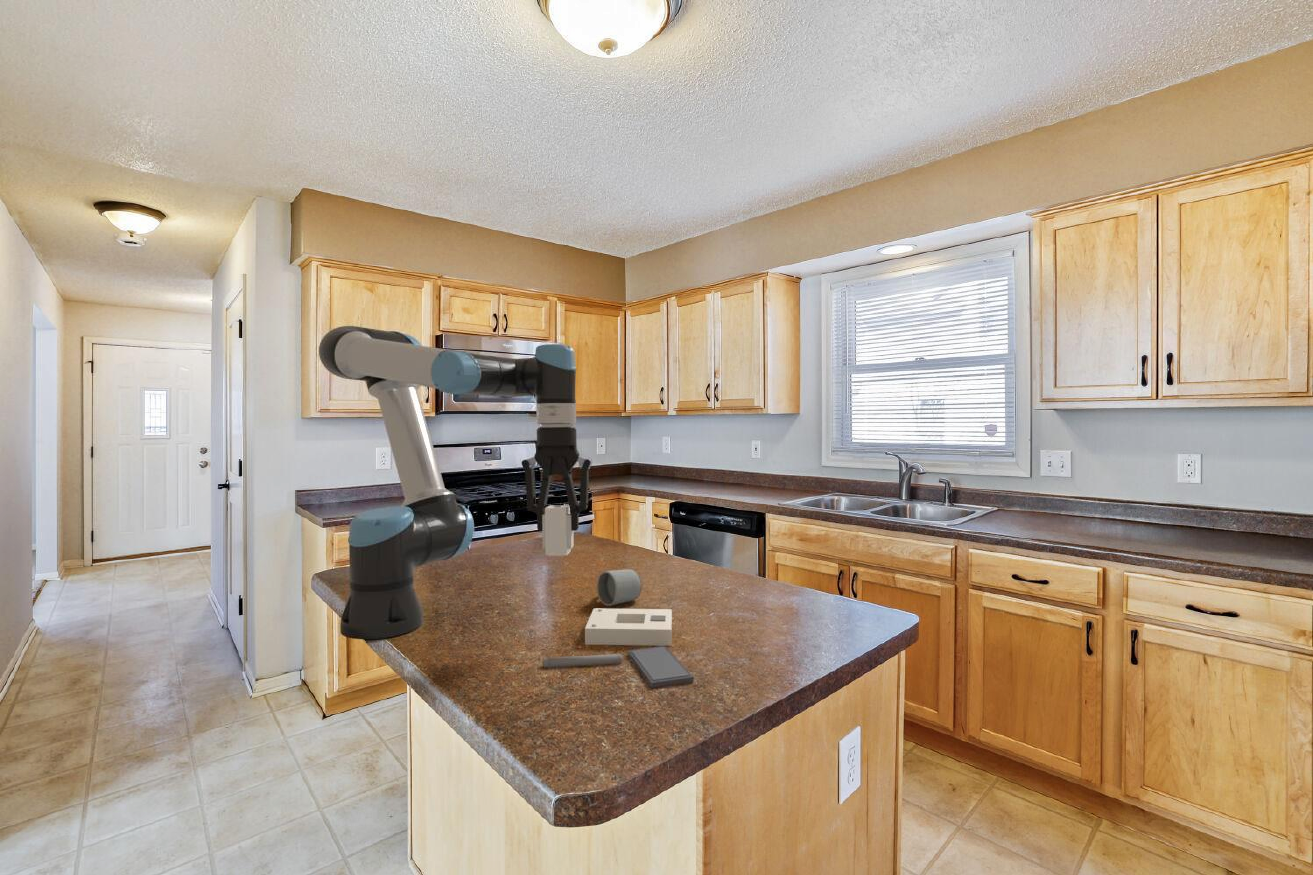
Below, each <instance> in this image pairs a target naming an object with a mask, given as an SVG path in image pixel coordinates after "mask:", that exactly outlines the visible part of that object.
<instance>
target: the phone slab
mask: <svg viewBox="0 0 1313 875" xmlns="http://www.w3.org/2000/svg"><path fill="white" fill-rule="evenodd" d="M627 656H628V657H629V659H631V661H632V663H633V664H634V665H635V667H636V668H637V670H638V671H639V672H640V674H641V675H642V677H643V678H644V680H645V681H646V682H647V684H648V685H649V687H650V688H651V689H654V688H662V687H666V686H667V687H668V686H675V685H682V684H689V683H694V680H695V678H694V676H693V674H691V672H690V671H689V670H688V669H687V667H685V666H684V665H683V663H681V662H680V660H679V659H678V658H677V657H676V656H675V654H673V653H672V652H671V651H670V650H669V648H668V646H654V647H645V648H636V649H628V650H627Z"/></svg>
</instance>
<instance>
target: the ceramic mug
mask: <svg viewBox="0 0 1313 875" xmlns="http://www.w3.org/2000/svg"><path fill="white" fill-rule="evenodd" d="M642 589H643V584H642V579H641V576H640V575H639V574H638V572H637V571H636V570H634V569H628V568H626V569H616V570H605V571H603V572H601V573H600V575H599V576H598V578H597V582H596V592H597V596H598V598H599V601H600V602H601V603H602V604H603V605H604V606H606V607H612V606H617V605H621V604H624V603H629V602H632V601H635V600H637V599H638V598H639V597H640V595H641V594H642V591H643V590H642Z"/></svg>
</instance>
